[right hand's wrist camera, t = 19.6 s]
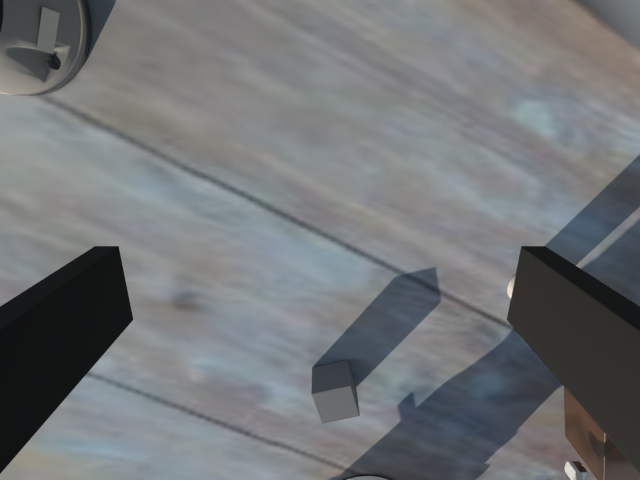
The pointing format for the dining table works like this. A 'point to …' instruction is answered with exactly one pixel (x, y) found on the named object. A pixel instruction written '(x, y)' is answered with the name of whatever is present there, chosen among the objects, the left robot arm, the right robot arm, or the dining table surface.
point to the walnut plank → (595, 444)
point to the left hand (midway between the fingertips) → (606, 463)
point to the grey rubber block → (334, 391)
